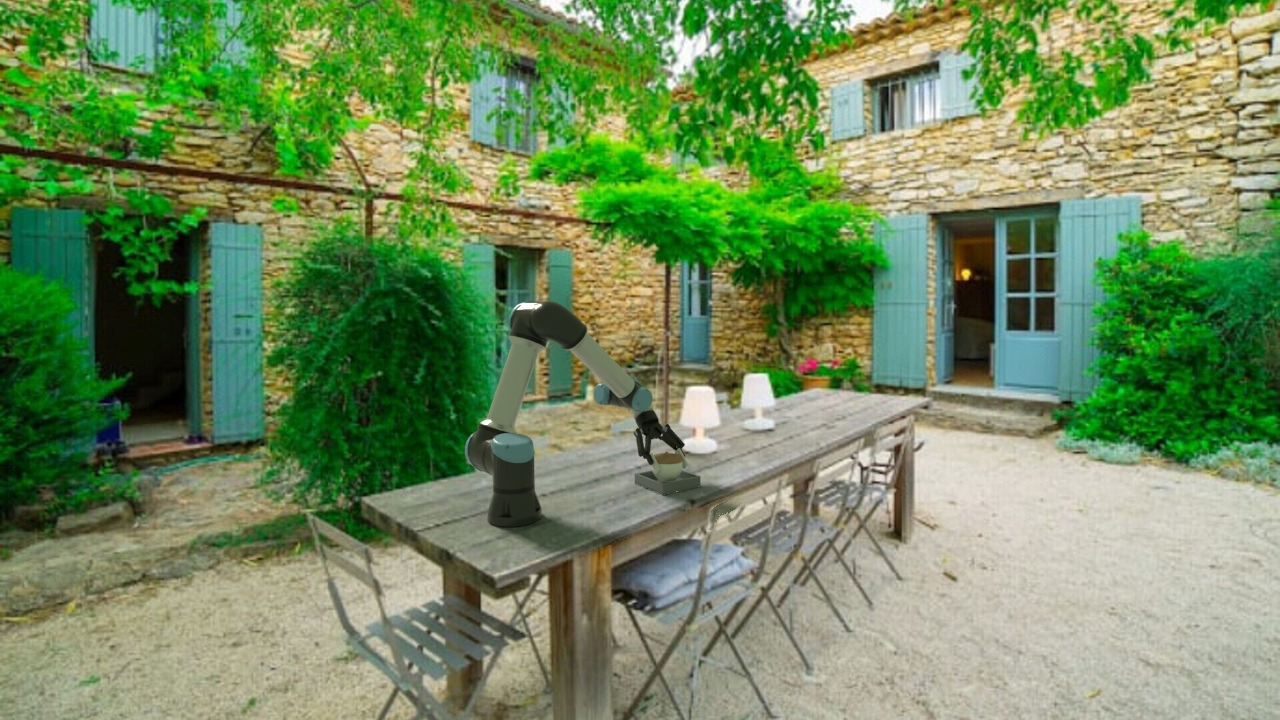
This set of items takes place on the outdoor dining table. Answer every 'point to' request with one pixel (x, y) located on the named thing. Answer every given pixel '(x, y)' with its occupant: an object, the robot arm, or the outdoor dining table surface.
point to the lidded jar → (668, 466)
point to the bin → (681, 483)
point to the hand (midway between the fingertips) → (672, 469)
